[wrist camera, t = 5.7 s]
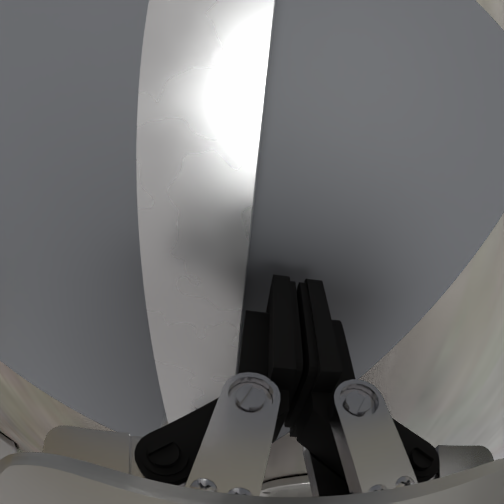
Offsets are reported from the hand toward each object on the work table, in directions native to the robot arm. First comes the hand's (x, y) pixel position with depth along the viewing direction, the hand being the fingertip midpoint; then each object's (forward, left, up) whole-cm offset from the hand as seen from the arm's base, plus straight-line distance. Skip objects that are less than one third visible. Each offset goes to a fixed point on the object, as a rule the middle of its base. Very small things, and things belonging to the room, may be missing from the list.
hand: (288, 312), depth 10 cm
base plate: (+8, +2, -3) cm, 9 cm away
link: (+3, +1, -1) cm, 3 cm away
